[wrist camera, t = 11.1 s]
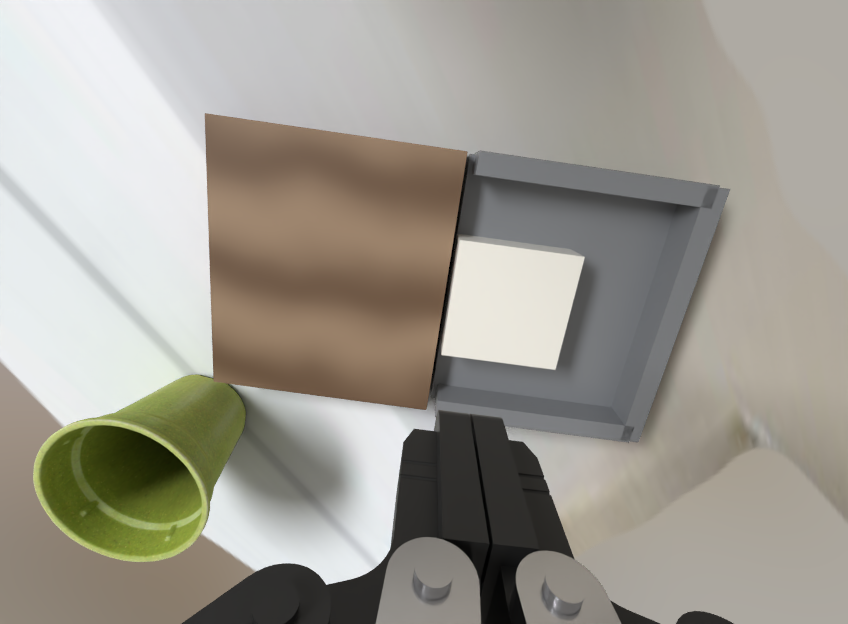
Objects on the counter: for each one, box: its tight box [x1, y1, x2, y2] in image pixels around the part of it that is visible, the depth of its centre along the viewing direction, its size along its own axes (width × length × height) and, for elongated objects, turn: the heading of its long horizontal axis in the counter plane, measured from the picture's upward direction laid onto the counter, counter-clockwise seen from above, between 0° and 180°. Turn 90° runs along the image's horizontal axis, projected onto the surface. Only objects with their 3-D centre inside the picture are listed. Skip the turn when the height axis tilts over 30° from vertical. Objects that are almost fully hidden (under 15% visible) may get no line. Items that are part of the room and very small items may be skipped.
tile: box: [441, 234, 585, 370], centre depth 25 cm, size 7×7×2 cm
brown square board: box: [205, 113, 467, 410], centre depth 25 cm, size 16×14×2 cm
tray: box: [431, 151, 730, 443], centre depth 25 cm, size 16×14×3 cm
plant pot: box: [33, 375, 246, 562], centre depth 26 cm, size 9×9×9 cm
